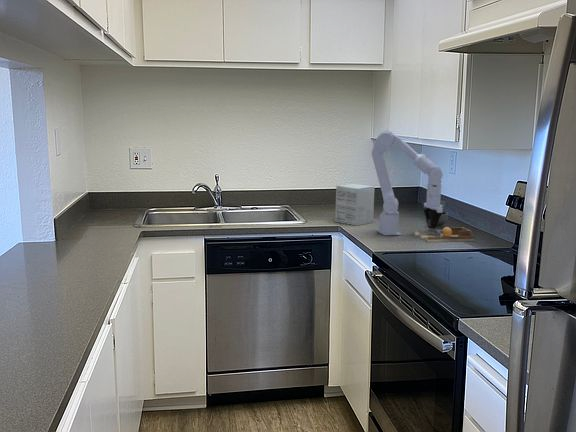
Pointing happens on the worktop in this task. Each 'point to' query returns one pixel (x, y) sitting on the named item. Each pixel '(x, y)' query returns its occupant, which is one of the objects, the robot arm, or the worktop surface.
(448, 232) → the ball
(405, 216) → the worktop surface
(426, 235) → the pitch
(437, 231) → the kicker
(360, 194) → the supplement box
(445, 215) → the mortar and pestle
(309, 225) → the worktop surface
